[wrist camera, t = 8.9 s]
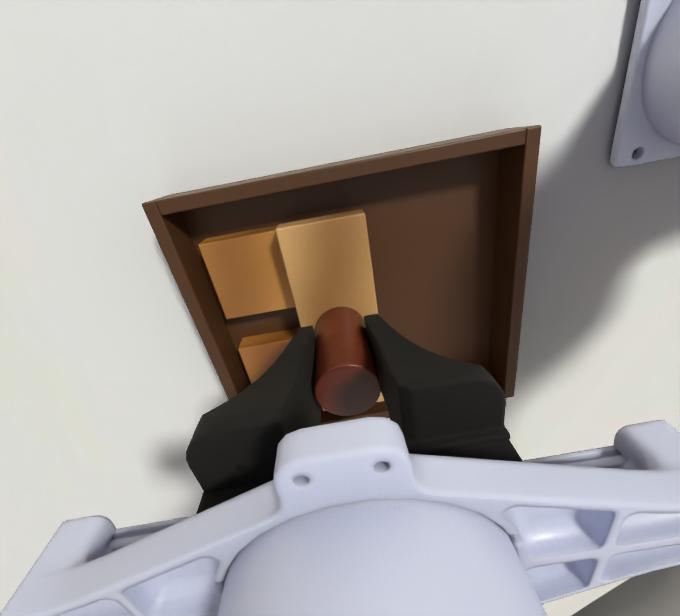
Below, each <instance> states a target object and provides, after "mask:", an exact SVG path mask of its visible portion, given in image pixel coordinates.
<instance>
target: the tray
mask: <svg viewBox="0 0 680 616" xmlns="http://www.w3.org/2000/svg"><path fill="white" fill-rule="evenodd" d="M540 135H541V125H536V126H526V127H516V128H507V129H502V130H497V131H492V132H487V133H482V134H477V135H471V136H466V137H461V138H456V139H451V140H446V141H441V142H436V143H431V144H426V145H421V146H416V147H411V148H405V149H400V150H395V151H390V152H385V153H380V154H375V155H370V156H365V157H360V158H355V159H350V160H345V161H340V162H334V163H329V164H324V165H319V166H314V167H309V168H304V169H299V170H294V171H289V172H284V173H279V174H274V175H268V176H263V177H258V178H253V179H248V180H243V181H238V182H233V183H228V184H223V185H218V186H213V187H208V188H203V189H197V190H192V191H187V192H182V193H177V194H172V195H167V196H164V197H161V198H158V199H155V200H152V201H148V202H145V203H143V204H142V207H143V209H144V211H145V213H146V215H147V218H148V220H149V222H150V224H151V227H152V229H153V231H154V233H155V236H156V238H157V240H158V242H159V244H160V247H161V249H162V251H163V253H164V256H165V258H166V260H167V262H168V265H169V267H170V269H171V271H172V273H173V276H174V278H175V280H176V282H177V285H178V287H179V289H180V291H181V293H182V296H183V298H184V300H185V302H186V305H187V307H188V309H189V311H190V314H191V316H192V318H193V320H194V322H195V325H196V327H197V329H198V331H199V334H200V336H201V338H202V340H203V343H204V345H205V347H206V349H207V351H208V354H209V356H210V358H211V360H212V363H213V365H214V367H215V369H216V371H217V374H218V376H219V378H220V380H221V383H222V385H223V387H224V389H225V392H226V394H227V396H228V398H229V400H230V399H232V398H233V397H235V396H236V395H238V394H239V393H240V392H242V391H243V390H245V389H246V388H247V387H248V386H250V385H251V382H250V379H249V377H248V374H247V371H246V369H245V366H244V364H243V361H242V358H241V356H240V353H239V351H238V348H239V345H240V343H241V340H242V338H243V337H249V336H254V335H260V334H266V333H271V332H277V331H283V330H288V329H294V328H300V327H301V326H300V322H299V319H298V315H297V311H296V307H293V308H288V309H282V310H277V311H271V312H265V313H260V314H254V315H249V316H243V317H237V318H232V319H226V317H225V314H224V311H223V309H222V306H221V304H220V301H219V298H218V296H217V293H216V291H215V288H214V285H213V283H212V280H211V278H210V275H209V272H208V270H207V267H206V265H205V262H204V259H203V257H202V254H201V252H200V249H199V246H198V245H199V244H200V243H201V242H202V241H204V240H205V239H206V238H210V237H216V236H221V235H227V234H232V233H237V232H243V231H248V230H253V229H259V228H264V227H270V226H275V225H279V224H283V223H286V222H290V221H296V220H301V219H307V218H312V217H317V216H323V215H328V214H334V213H339V212H344V211H350V210H355V209H356V210H359V209H362V210H363V211H364V213H365V215H366V222H367V230H368V238H369V246H370V253H371V261H372V269H373V277H374V285H375V292H376V300H377V308H378V315H380V316H381V317H382V318H383V319H384V320H385V321H386V322H387V323H388V324H389V325H390V326H391V327H392V328H393V329H395V330H396V331H397V332H398V333H400V334H401V335H402V336H404V337H405V338H407V339H408V340H409V341H411V342H413V343H414V344H416V345H418V346H420V347H422V348H424V349H426V350H428V351H431V352H433V353H436V354H438V355H441V356H444V357H447V358H450V359H454V360H457V361H461V362H466V363H471V364H477V365H481V366H482V367H483V368H484V369H485V370H486V371H487V372H488V373H489V374H490V375H491V376H492V377H493V378H494V379H495V380H496V382H497V383H498V384H499V386H500V387H501V388H502V390H503V392H504V394H505V398H507V397H513V396H514V390H515V380H516V370H517V360H518V351H519V341H520V331H521V321H522V311H523V302H524V292H525V282H526V272H527V262H528V253H529V243H530V233H531V223H532V214H533V204H534V194H535V184H536V174H537V165H538V155H539V145H540ZM365 417H385V418H390V416H389V413H388V410H387V407H386V404H385V401H381V402H376V403H375V404H374V405H373V406H372V407H371V408H369V409H368V410H366V411H365V412H362V413H360V414H356V415H351V416H341V415H336V414H332V413H330V412H328V411H323V410H322V407H321V420H320V425H325V424H331V423H336V422H342V421H348V420H354V419H359V418H365Z"/></svg>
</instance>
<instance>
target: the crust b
mask: <svg viewBox="0 0 680 616" xmlns="http://www.w3.org/2000/svg"><path fill="white" fill-rule="evenodd" d="M300 328H301V327H300ZM298 329H299V328H294V329H288V330H283V331H277V332H271V333H266V334H260V335H254V336H249V337H243V338H242V340H241V343H240V345H239V348H238V351H239V353H240V356H241V358H242V361H243V364H244V366H245V369H246V371H247V374H248V377H249V379H250V382H251V384H252V383H253V382H254V381H256V380H257V379H258V378H259V377H260V376H261V375H262V374H264V373H265V372H266V371H267V370H268V369H269V368H270V367H271V365H272V364H273V363H274V362H275V361H276V360H277V358H278V357H279V356H280V355H281V353H282V352H283V351H284V349H285V348H286V347H287V345H288V344H289V342H290V341H291V339H292V338H293V336H294V335H295V333H296V332H297V330H298Z"/></svg>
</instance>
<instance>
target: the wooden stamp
mask: <svg viewBox="0 0 680 616" xmlns="http://www.w3.org/2000/svg"><path fill="white" fill-rule="evenodd" d="M275 231H276V235H277V239H278V243H279V247H280V250H281V254H282V258H283V262H284V266H285V269H286V273H287V277H288V281H289V285H290V288H291V292H292V296H293V300H294V303H295V307H296V311H297V315H298V319H299V322H300V326H301V327H306V326H311V325H313V329H314V333H315V337H316V352H315V397H316V399H317V401H318V403H319V404H320V406H321V407H322V410H323V411H328V412H330V413H332V414H336V415H341V416H351V415H356V414H360V413H362V412H365V411H366V410H368V409H369V408H371V407H372V406H373V405H374V404H375V403H376V402H381V401H384V398H383V395H382V393H381V384H380V379H379V376H378V372H377V368H376V364H375V360H374V356H373V352H372V349H371V346H370V342H369V339H368V335H367V331H366V327H365V321H364V316H366V315H371V314H378V308H377V300H376V292H375V285H374V277H373V269H372V261H371V253H370V246H369V238H368V230H367V222H366V215H365V213H364V211H363V210H362V209H359V210H356V209H355V210H350V211H344V212H339V213H334V214H328V215H323V216H317V217H312V218H307V219H301V220H296V221H290V222H286V223H283V224H279V225H278V226H277V228H276V230H275Z"/></svg>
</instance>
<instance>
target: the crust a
mask: <svg viewBox="0 0 680 616" xmlns="http://www.w3.org/2000/svg"><path fill="white" fill-rule="evenodd" d="M277 226H278V225H275V226H270V227H264V228H259V229H253V230H248V231H243V232H237V233H232V234H227V235H221V236H216V237H210V238H206V239H205V240H204V241H202V242H201V243H200V244H199V245H198V246H199V249H200V252H201V254H202V257H203V259H204V262H205V265H206V267H207V270H208V272H209V275H210V278H211V280H212V283H213V285H214V288H215V291H216V293H217V296H218V298H219V301H220V304H221V306H222V309H223V311H224V314H225V317H226V319H232V318H237V317H243V316H249V315H254V314H260V313H265V312H271V311H277V310H282V309H288V308H293V307H295V303H294V300H293V296H292V292H291V288H290V285H289V281H288V277H287V273H286V269H285V266H284V262H283V258H282V254H281V250H280V247H279V243H278V239H277V235H276V231H275V230H276V228H277Z"/></svg>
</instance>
